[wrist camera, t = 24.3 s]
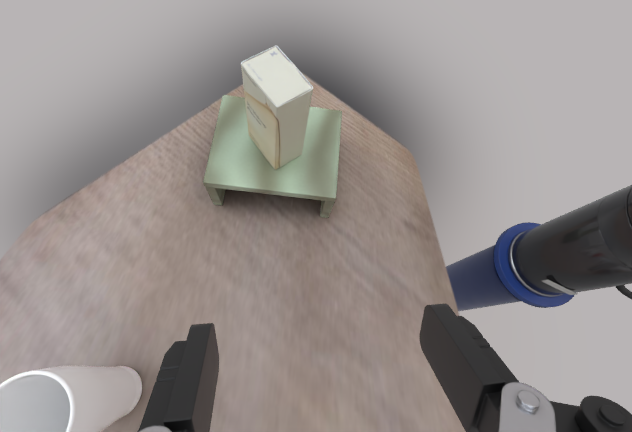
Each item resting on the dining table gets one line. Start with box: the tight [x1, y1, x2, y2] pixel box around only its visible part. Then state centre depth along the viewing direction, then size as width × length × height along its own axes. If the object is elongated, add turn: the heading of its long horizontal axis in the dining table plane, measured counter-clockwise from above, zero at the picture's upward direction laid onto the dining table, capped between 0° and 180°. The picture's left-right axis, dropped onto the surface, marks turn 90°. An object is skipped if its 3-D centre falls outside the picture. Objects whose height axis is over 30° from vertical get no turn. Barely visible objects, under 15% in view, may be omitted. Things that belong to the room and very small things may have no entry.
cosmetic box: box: [241, 46, 313, 170], centre depth 37 cm, size 6×4×12 cm
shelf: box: [203, 95, 342, 218], centre depth 46 cm, size 16×13×7 cm
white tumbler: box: [0, 365, 142, 432], centre depth 30 cm, size 7×7×15 cm
